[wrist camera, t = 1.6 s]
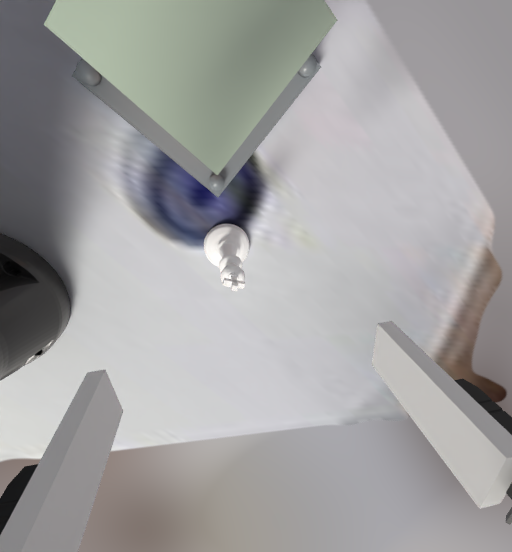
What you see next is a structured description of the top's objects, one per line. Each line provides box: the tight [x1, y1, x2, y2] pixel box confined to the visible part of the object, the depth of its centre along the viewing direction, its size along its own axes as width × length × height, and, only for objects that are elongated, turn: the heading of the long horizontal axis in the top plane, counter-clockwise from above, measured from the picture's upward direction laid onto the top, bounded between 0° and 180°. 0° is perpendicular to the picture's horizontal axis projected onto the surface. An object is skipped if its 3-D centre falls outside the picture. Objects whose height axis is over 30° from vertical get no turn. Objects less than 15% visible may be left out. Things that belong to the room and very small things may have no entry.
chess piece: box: [204, 224, 249, 291], centre depth 25 cm, size 5×5×10 cm
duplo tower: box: [44, 0, 337, 197], centre depth 18 cm, size 14×14×11 cm
